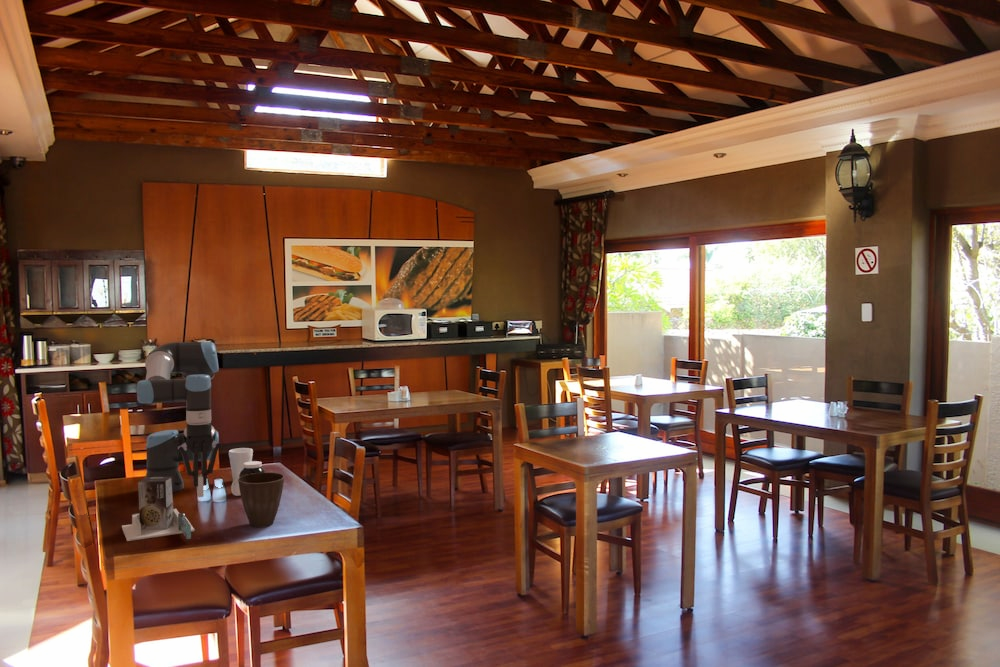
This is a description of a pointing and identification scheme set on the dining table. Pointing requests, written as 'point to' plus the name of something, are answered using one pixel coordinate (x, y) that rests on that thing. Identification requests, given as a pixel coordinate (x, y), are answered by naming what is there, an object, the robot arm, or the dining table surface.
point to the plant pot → (261, 497)
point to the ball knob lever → (184, 525)
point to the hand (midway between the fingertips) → (200, 495)
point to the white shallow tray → (136, 533)
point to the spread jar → (248, 469)
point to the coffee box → (156, 502)
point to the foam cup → (239, 460)
